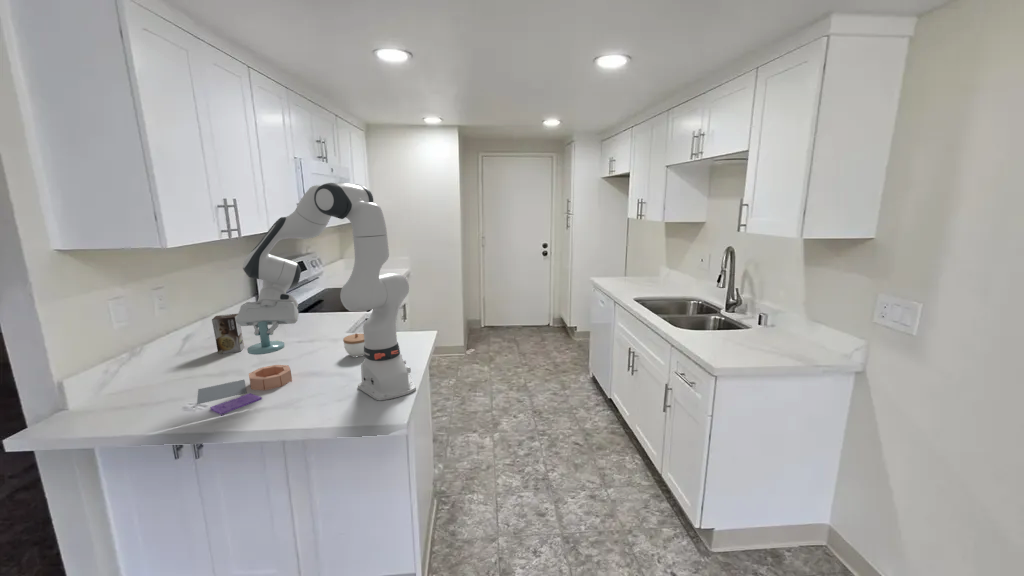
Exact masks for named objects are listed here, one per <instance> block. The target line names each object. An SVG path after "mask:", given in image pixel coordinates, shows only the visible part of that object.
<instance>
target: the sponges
mask: <svg viewBox="0 0 1024 576" xmlns="http://www.w3.org/2000/svg"><path fill="white" fill-rule="evenodd" d="M261 400H262V397H261V396H259V395H256V394H253V393H251V392H249V393H245V394H244V395H241V396H239V397H236V398H232V399H230V400H228V401H227V400H226V401H224V402H221V403H218V404H215V405H211V406H210V408H209V409H210V410H211V411H212V412H214V413H217V414H219V415H221V416H220V417H222V415H224V414H228V413H230V412H232V411H235V410H237V409H240V408H243V407H244V406H247V405H250V404H253V403H255V402H258V401H261Z"/></svg>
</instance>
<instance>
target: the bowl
mask: <svg viewBox="0 0 1024 576" xmlns="http://www.w3.org/2000/svg"><path fill="white" fill-rule="evenodd" d="M248 378H249V384H250V389H251V390H254V391H255V390H256V391H269V390H272V389H276V388H281V387H283V386H285V385H286V384H288V383H292V382H293V377H292V371H291V368H290V366H289V365H287V364H273V365H268V366H263V367H260V368H257V369H255V370H253V371H251V372H250V373H248Z"/></svg>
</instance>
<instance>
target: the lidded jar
mask: <svg viewBox="0 0 1024 576" xmlns="http://www.w3.org/2000/svg"><path fill="white" fill-rule="evenodd" d="M342 341H343V346H344V349H345V352H346V353H347V354H348V356H349V355H350V357H352V356H354V357H353V358H357V357H356V356H361V357H363V356H362V355H364V346H365V342H364V333H354V334H350V335H347V336H345V337H344V338H343V339H342Z"/></svg>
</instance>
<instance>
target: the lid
mask: <svg viewBox="0 0 1024 576" xmlns="http://www.w3.org/2000/svg"><path fill="white" fill-rule="evenodd" d="M258 326H259V328H258V329H259V333H260V335H259V338H260V342H258V343H255V344H252V345H250V346H249V347H247V353H248V354H249V355H254V356H255V355H257V356H258V355H260V356H261V355H266V354H271V353H275V352H278V351H281V350H282V349H284V348H285V342H283V341H281V340H271V339H270V335H268V334H267V329H269V327H268V326H269V325H267V321H261V322H258Z"/></svg>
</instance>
